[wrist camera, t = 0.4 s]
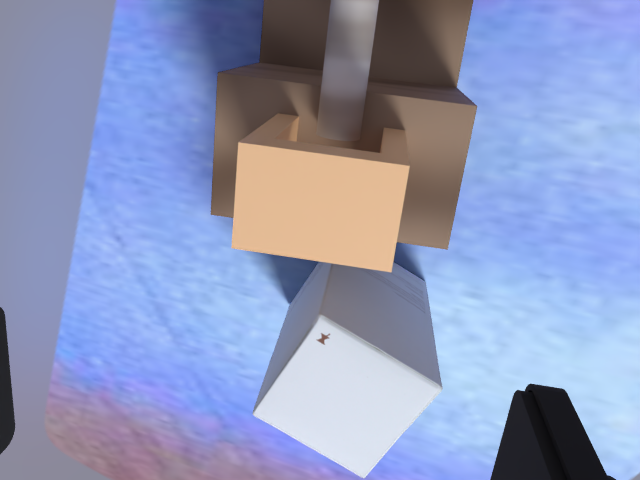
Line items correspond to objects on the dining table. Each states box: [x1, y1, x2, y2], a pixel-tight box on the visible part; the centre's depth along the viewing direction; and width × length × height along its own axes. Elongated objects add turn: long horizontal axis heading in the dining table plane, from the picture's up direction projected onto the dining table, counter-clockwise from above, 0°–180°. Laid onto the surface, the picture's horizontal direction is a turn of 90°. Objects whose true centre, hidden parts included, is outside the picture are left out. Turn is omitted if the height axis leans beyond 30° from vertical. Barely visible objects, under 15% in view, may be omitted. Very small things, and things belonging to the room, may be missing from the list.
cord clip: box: [232, 113, 410, 272], centre depth 24 cm, size 4×6×8 cm, turn 83°
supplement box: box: [253, 262, 442, 478], centre depth 35 cm, size 7×7×13 cm
